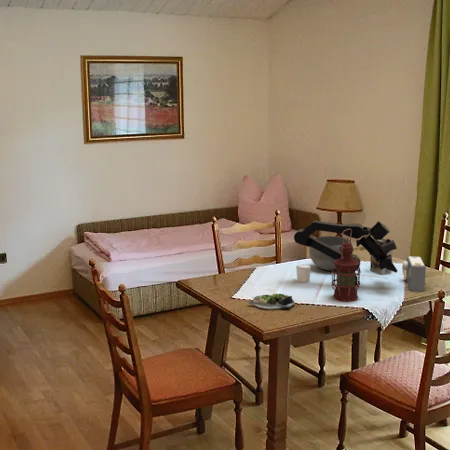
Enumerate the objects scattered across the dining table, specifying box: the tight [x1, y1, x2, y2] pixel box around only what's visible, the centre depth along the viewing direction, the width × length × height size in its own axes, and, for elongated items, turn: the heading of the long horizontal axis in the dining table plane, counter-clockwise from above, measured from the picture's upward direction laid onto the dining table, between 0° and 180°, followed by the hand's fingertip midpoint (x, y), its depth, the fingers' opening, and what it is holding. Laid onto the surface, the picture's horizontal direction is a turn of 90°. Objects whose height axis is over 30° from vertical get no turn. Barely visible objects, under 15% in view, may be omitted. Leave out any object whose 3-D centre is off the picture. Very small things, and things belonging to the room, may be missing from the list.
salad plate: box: [247, 293, 295, 311], centre depth 263 cm, size 19×18×5 cm
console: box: [405, 256, 426, 292], centre depth 285 cm, size 6×18×12 cm, turn 170°
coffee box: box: [369, 237, 393, 276], centre depth 307 cm, size 9×6×16 cm
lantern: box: [331, 229, 362, 303], centre depth 267 cm, size 12×12×30 cm
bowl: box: [308, 235, 350, 272], centre depth 314 cm, size 20×20×15 cm
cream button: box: [402, 260, 408, 271], centre depth 291 cm, size 3×4×4 cm
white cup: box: [295, 264, 312, 284], centre depth 295 cm, size 7×7×7 cm
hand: (396, 271), depth 281 cm, fingers closed
